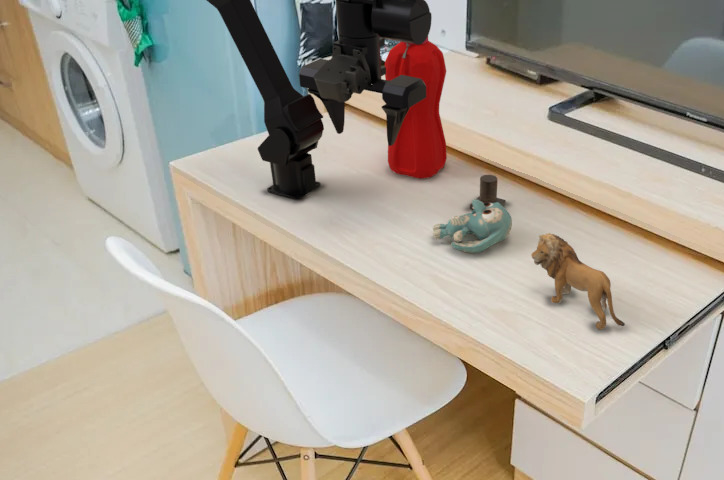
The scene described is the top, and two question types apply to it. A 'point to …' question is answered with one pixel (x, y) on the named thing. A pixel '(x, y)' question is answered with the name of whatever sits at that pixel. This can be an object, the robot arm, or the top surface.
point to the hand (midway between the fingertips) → (365, 138)
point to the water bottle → (419, 111)
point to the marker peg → (489, 190)
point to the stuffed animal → (477, 227)
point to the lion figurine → (574, 275)
